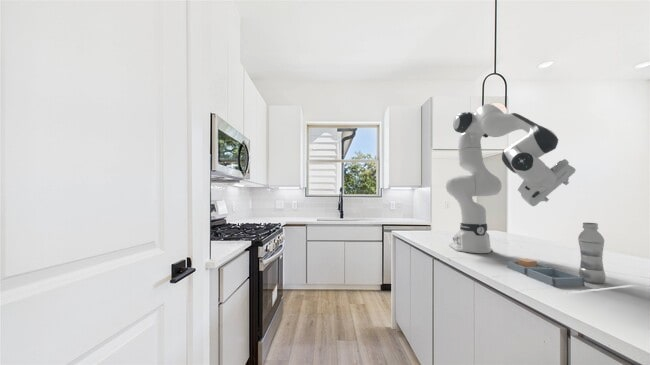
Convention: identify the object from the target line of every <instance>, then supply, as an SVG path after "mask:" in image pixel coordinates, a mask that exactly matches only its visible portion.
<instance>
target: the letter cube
mask: <svg viewBox="0 0 650 365" xmlns="http://www.w3.org/2000/svg"><path fill="white" fill-rule="evenodd" d="M517 261H518V265H520V266H523V267H537V262H538V261H536V260H534V259H530V258H518V260H517Z"/></svg>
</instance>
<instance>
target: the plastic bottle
mask: <svg viewBox="0 0 650 365" xmlns="http://www.w3.org/2000/svg"><path fill="white" fill-rule="evenodd" d="M582 229H583V230H582V231H581V232H580V233H579V234H578V237H577V240H578V245H579V250H580V251H579V252H580V265H579V266H580V267H579V270H578V276H580V277H583V278H584V283H585V282H586V283H589V284H596V285H603V284H604V283H605V282H606V278H607V276H606V273H605V270H604V263H603V256H604V254H603V253H604V247H605V246H604V245H605V238H604V236H603V235H602V234H601V233H600V232H599V231H598V230H599V224H598V223H596V222H582Z"/></svg>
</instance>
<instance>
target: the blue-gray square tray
mask: <svg viewBox="0 0 650 365" xmlns="http://www.w3.org/2000/svg"><path fill="white" fill-rule="evenodd" d="M506 264H507V266H506V267H507V269H510V270H512V271H514V272H517V273H519V274H523V275H525V276H527V271H526V269H542V268H550V267H549V266H547V265H543V264H540V263H537V267H523V266H520V265H518V260H513V261H511V260H509V261H507V263H506Z"/></svg>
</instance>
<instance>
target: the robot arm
mask: <svg viewBox="0 0 650 365" xmlns="http://www.w3.org/2000/svg"><path fill="white" fill-rule="evenodd" d="M452 126H453V130H454V131H455V132H456V133H458V134H459V133H460V136H458V137H459V139H458V146H457V148H458V149H457V150H458V161H459V166H460V167H461V168H462V169H463V170H465V171H467V172H469V173H470V174H471V175H455V176H452V177H449V178H448V179H447V181H446V183H445V189H446V192H447V193H448V194H449V195H450V196H451V197H452V198H454V199H455V200H456V201H457V203H458V204H459V208H460V210H461V222H460V223H459V229H460V230H458V231H457V232H456V233H455V234H454V235H453V236H452V241H453V242H452V243H448V246H449V247H450V248H452V249H453V250H455V251H457V252H464V253H471V254H489V253H491V251H492V252H493V251H494V250H493V247H491V240H490V235H489V233H488V232H487V231H488V224H487V214H486V213H487V211H486V208H485V207H484V206H483V205H482V204H480V203H477V202H475V201H474V200H473V198H474V197H492V196H496V195H499V193H500V192H501V190H502V182H501V179H499V177H498V176H496V175H494V174H493V173H491V172H490V171H489V169H488V168H487V167H486V165H485V163H484V159H483V157H484V156H483V150H482V145H481V141H482V140H481V139H482V138H488V137H492V138H500V137H503V136H506V135H507V134H510V133H512V132H515V131H519V130H522V131H524V132H526V133H527V134H526V135H524V136H523V137H521V138H520V139H518V140H516V141H515V142H513V143H512V144H511V145H509V146H507V147H506V148H504V149H503V151H502V154H501V160H502V162H503V164H504V165H505V167H507V169H508V170H510V171H511V172H512V173H514V174H517V175H518V176H519V177H520V178H521V180H523V181H522V182H521V183H520V185H519V187H518V188H517V191H518V192H519V194H520V195H521V198H522V199H523V200H524V201H525V202H526V203H527V204H528V205H530V206H532V207H535V206H537V205H538V204H539V203H542V202H545V203H547V202H549V200H550V198H548V196H549V195H550V194H551V193H552V192H553V191H555V190H556V189H557V188H558V187H559V186H561V185H562V184H564V185H565V186H568V184H570V181H569V178H570V177H571V176H573V174H575V172H576V168H575V167H573V166H572V165H570V163H569V161H568V160H567V159H562V160H558V161H557V162H556V163H555V164H554V165H553V166H551V167H549V166H548V165H546V164H545V162H544V161H543V160H541V159H540V157H542V156H544V155H547V154H548V153H550V152H552V151H554V150H555V149H556V148H557V146H558V144H559V138H558V136H557V135H556V133H555V132H553V131H552V130H550V129H549V128H547V127H544V126H542V125H539V124H538V123H535V122H534V121H532V120H530V119H529V118H526V117H525V116H523V115H521V114H518V113H515V112H512V113H505V112H504V111H502V110H501V109H500V108H498V107H497V106H495V105H494V104H491V103H486V104H482V105H481V106H480V107H479V108H477V110H476V112H470V111H466V112H465V111H464V112H459V113H458V114H456V116H455V117H454V119H453V125H452Z"/></svg>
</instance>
